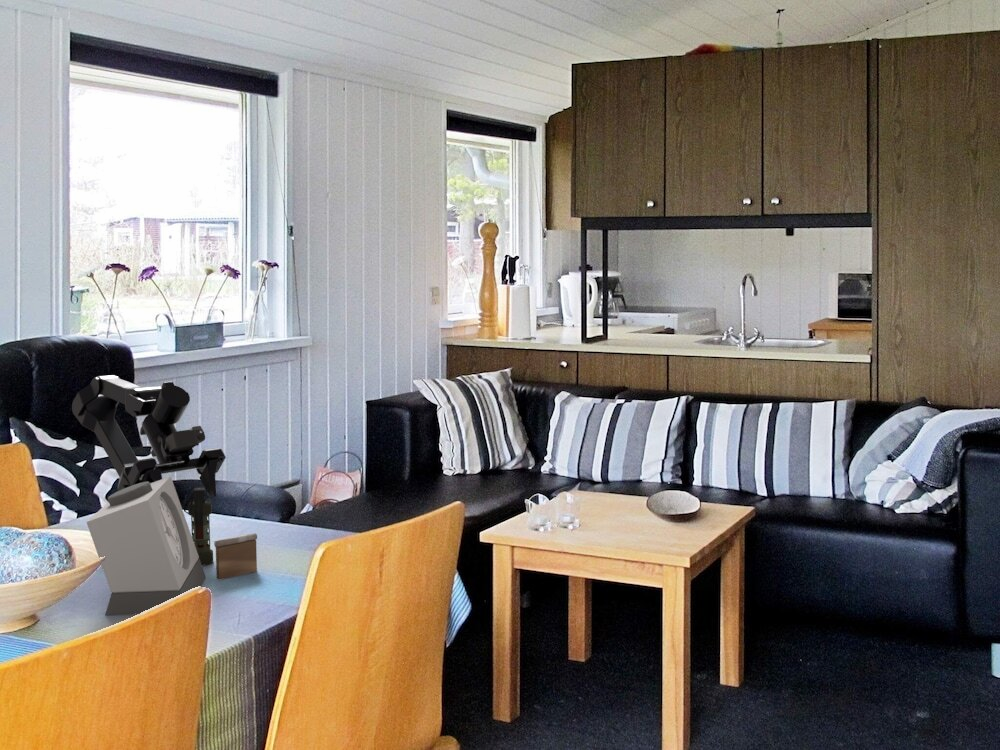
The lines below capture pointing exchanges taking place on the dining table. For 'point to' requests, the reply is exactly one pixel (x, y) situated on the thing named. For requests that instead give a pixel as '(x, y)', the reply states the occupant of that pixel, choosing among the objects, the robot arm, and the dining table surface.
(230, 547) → the wooden panel
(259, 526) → the dining table surface
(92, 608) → the dining table surface
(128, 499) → the alarm clock
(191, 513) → the grenade
